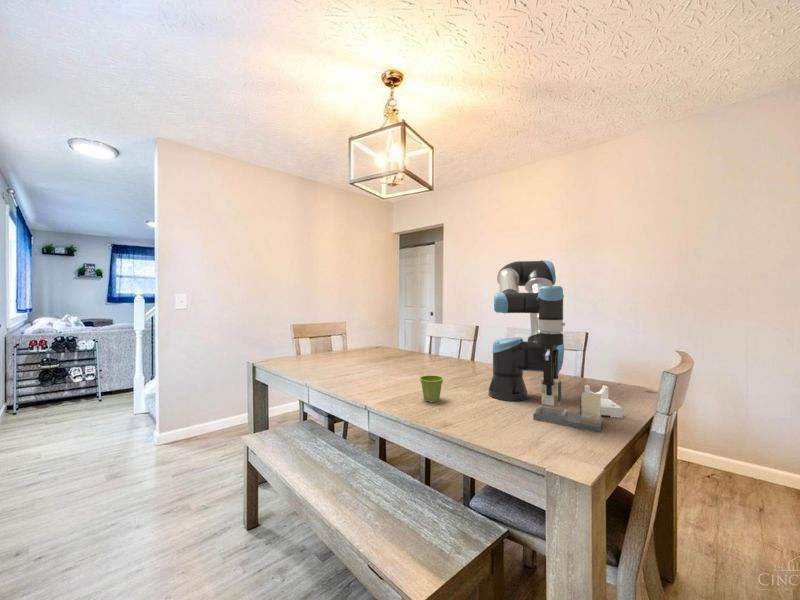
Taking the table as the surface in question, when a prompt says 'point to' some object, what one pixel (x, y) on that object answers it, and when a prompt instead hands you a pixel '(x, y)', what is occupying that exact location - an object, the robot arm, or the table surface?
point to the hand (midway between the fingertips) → (551, 402)
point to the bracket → (607, 403)
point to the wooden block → (556, 392)
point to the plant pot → (431, 387)
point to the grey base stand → (575, 414)
